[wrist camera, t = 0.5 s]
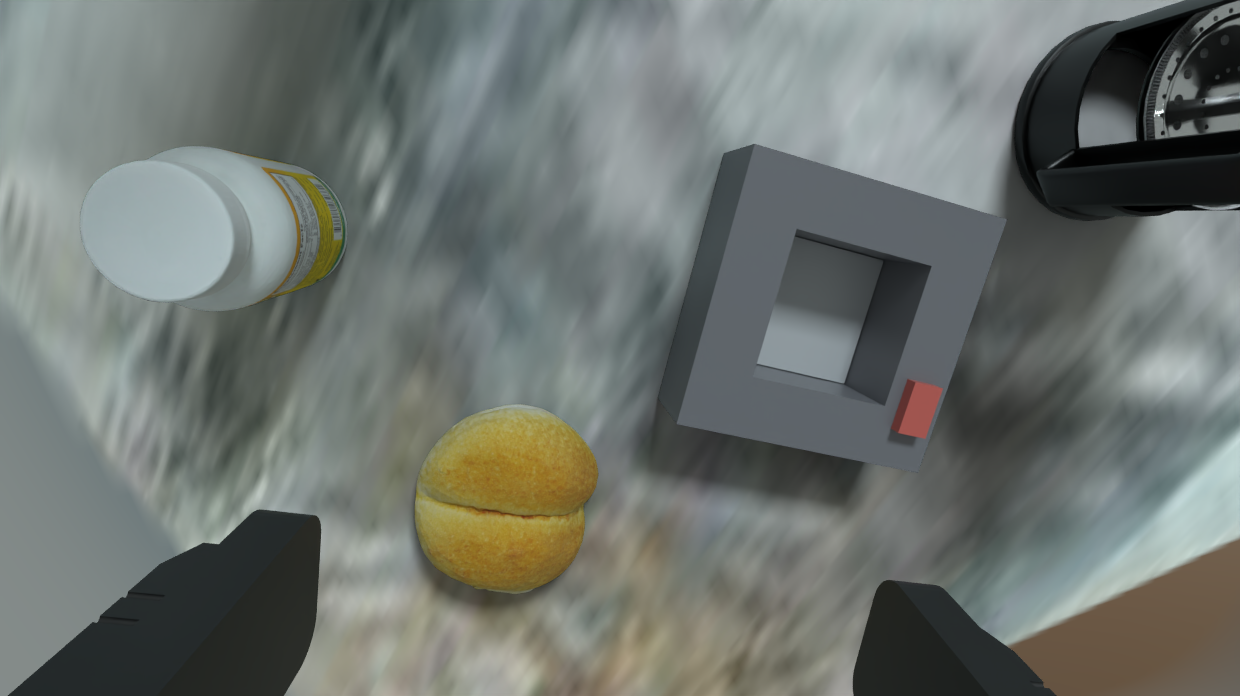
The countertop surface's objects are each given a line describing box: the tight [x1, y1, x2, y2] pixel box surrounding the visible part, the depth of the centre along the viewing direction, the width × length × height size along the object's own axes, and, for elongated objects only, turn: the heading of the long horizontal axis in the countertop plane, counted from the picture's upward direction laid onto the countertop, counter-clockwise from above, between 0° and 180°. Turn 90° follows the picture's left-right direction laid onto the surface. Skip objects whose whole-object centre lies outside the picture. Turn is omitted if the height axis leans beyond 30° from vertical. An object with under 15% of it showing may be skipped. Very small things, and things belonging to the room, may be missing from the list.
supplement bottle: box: [80, 146, 348, 311], centre depth 22 cm, size 5×5×10 cm
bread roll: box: [415, 404, 598, 594], centre depth 29 cm, size 8×9×4 cm
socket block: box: [658, 144, 1007, 473], centre depth 29 cm, size 12×12×5 cm
